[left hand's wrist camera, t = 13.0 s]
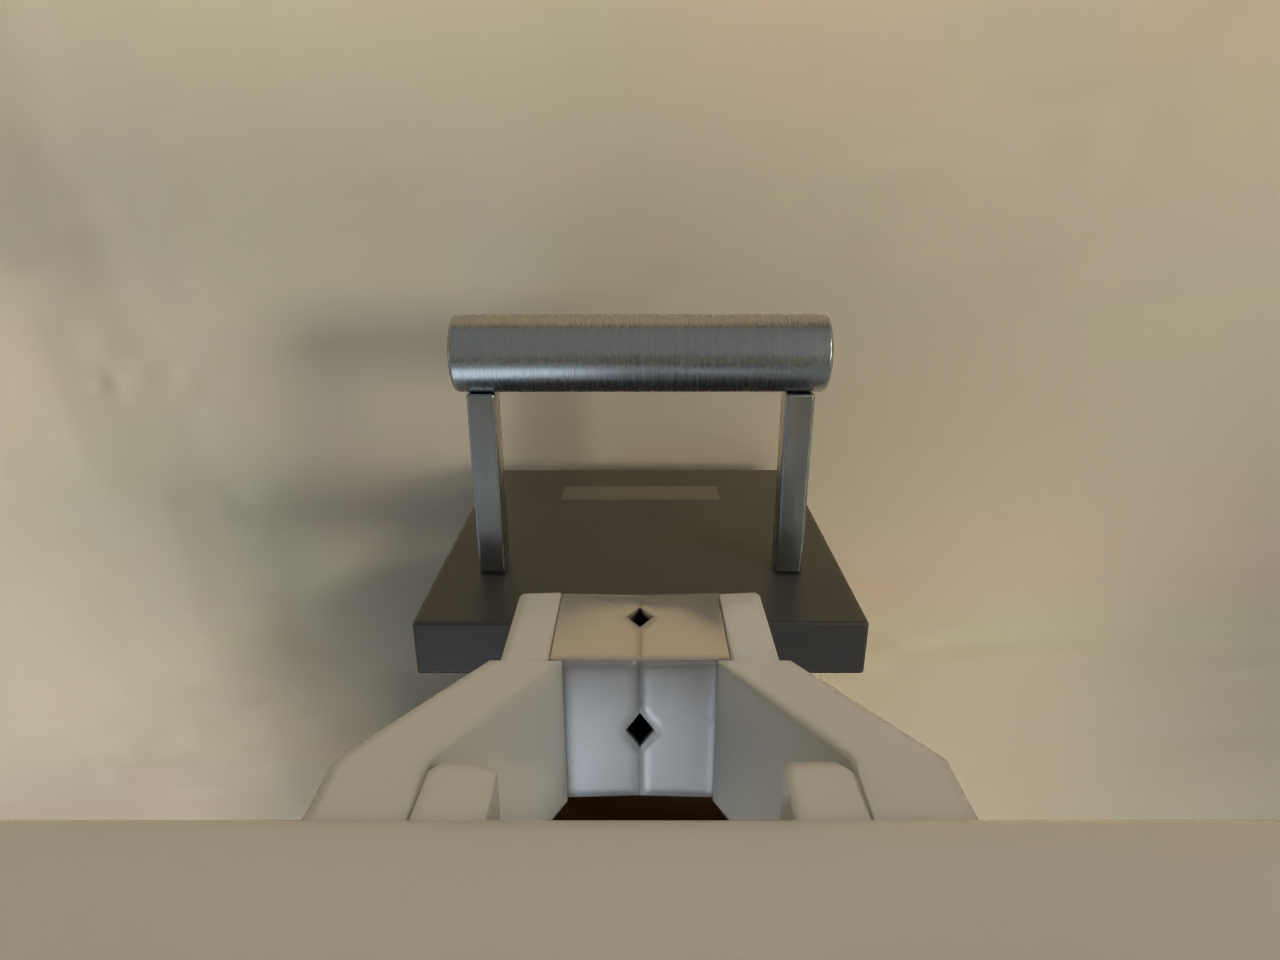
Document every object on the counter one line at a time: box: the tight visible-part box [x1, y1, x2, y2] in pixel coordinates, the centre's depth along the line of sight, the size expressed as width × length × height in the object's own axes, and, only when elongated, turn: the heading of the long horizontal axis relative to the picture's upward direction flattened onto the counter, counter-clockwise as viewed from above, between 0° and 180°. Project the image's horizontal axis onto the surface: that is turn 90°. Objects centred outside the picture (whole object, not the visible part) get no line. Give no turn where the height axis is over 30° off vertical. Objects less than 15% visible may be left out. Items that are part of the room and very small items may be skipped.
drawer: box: [413, 315, 869, 820], centre depth 22 cm, size 26×9×9 cm, turn 0°
